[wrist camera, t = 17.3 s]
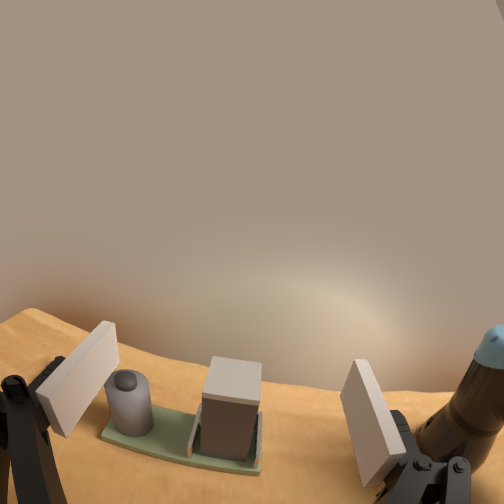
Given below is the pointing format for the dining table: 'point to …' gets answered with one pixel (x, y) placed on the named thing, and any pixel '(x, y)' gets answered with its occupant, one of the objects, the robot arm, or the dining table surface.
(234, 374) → the grey block
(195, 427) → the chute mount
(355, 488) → the dining table surface
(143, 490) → the dining table surface
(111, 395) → the desk organizer stand
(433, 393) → the dining table surface
